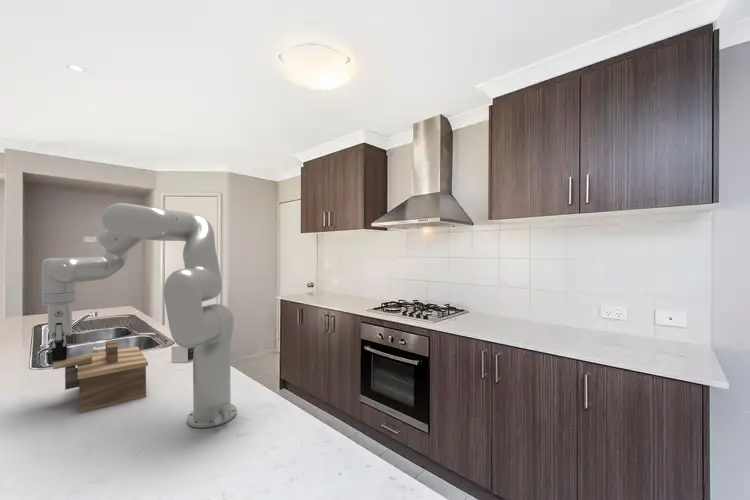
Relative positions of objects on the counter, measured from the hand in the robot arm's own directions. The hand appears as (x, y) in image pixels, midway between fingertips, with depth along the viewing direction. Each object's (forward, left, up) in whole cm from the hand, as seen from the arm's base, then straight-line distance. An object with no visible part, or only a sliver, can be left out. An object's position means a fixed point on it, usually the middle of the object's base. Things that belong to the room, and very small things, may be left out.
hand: (59, 357), depth 104 cm
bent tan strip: (0, -3, -3) cm, 4 cm away
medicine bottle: (+21, -38, -15) cm, 46 cm away
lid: (0, -12, -4) cm, 13 cm away
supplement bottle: (+34, -11, -15) cm, 39 cm away
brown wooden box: (0, -11, -14) cm, 18 cm away
